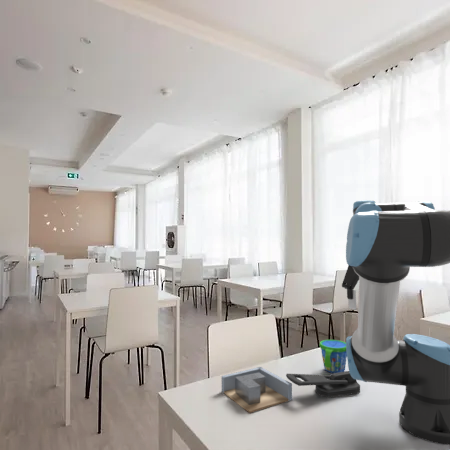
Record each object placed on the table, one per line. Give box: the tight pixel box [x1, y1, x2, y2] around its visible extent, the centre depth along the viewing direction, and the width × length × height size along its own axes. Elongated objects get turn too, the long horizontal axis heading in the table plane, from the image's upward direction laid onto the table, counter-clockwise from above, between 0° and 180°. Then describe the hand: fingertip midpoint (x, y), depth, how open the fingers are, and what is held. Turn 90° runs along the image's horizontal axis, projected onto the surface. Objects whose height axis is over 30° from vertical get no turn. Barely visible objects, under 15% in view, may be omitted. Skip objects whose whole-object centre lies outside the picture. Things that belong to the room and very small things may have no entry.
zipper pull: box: [285, 370, 361, 399], centre depth 111 cm, size 9×7×25 cm
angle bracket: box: [235, 373, 266, 405], centre depth 108 cm, size 9×9×5 cm
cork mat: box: [223, 386, 289, 414], centre depth 108 cm, size 15×14×1 cm
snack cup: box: [319, 339, 347, 374], centre depth 130 cm, size 16×10×10 cm
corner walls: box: [221, 366, 293, 402], centre depth 109 cm, size 16×16×5 cm
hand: (367, 307), depth 116 cm, fingers open, 13 cm apart
